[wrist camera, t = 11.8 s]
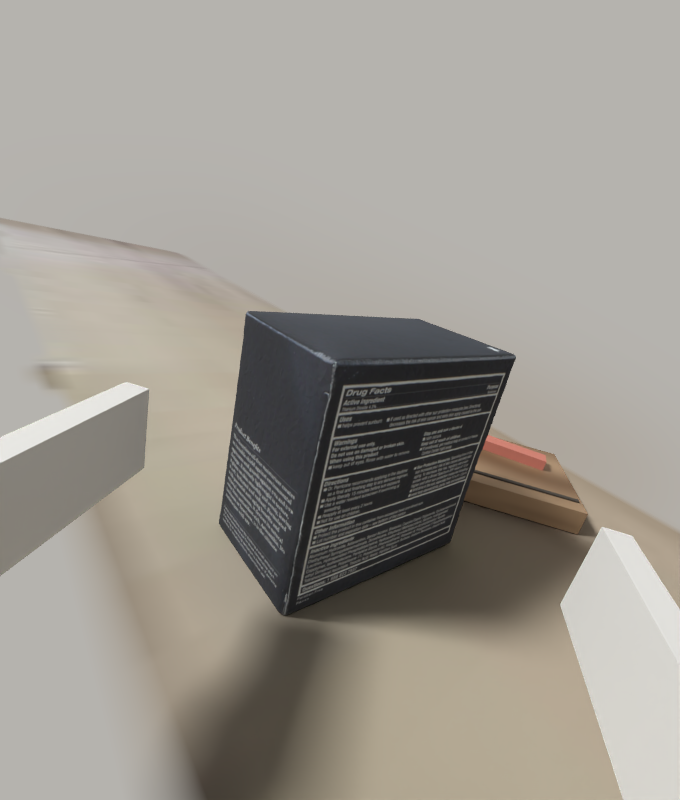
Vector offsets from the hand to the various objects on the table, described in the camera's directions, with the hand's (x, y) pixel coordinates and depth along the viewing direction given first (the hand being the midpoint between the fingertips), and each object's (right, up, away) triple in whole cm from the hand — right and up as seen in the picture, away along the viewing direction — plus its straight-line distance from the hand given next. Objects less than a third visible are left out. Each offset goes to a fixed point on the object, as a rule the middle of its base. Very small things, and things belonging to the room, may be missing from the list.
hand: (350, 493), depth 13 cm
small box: (0, -4, +10) cm, 11 cm away
